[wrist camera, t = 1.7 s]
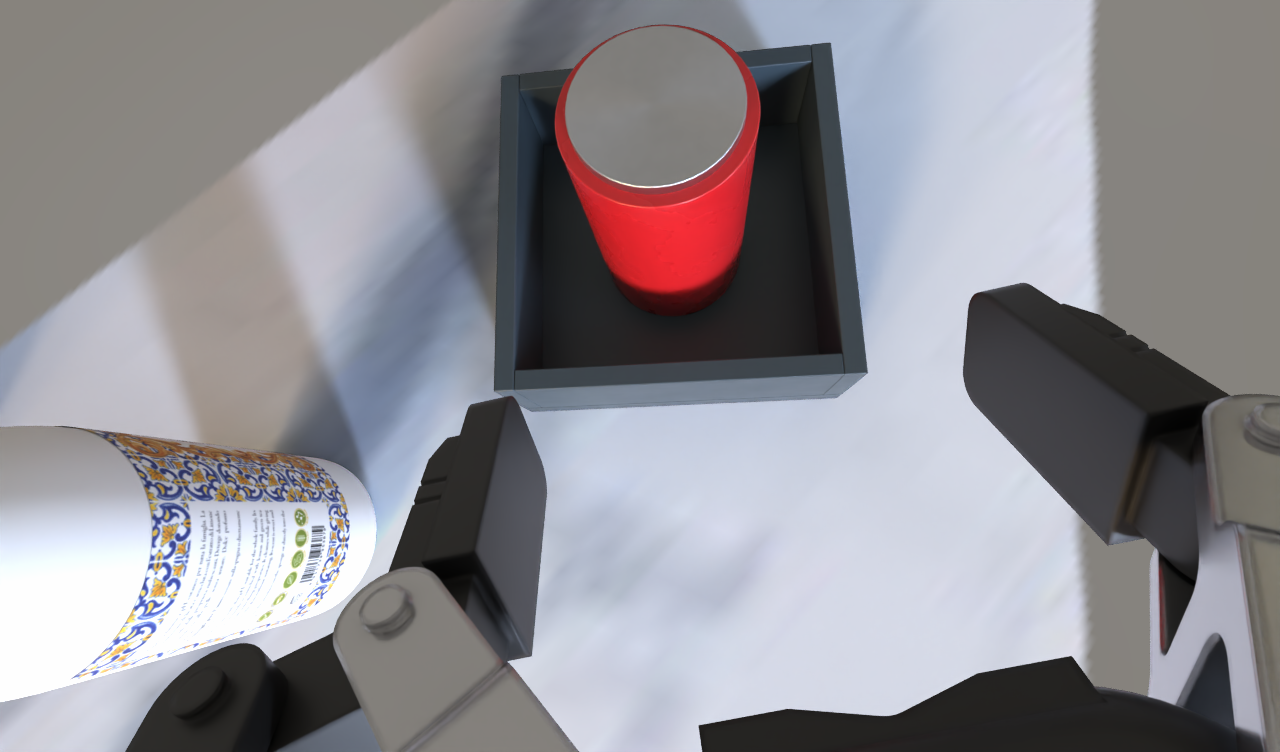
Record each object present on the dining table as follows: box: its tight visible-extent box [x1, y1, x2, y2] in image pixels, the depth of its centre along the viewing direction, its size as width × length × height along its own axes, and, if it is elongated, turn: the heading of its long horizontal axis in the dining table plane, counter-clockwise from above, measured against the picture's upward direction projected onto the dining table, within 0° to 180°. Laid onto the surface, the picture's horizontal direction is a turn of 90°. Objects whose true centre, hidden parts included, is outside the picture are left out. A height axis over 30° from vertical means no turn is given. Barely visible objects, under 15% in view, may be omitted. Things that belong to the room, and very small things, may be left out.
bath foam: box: [0, 426, 377, 702], centre depth 17 cm, size 7×7×20 cm
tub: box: [494, 43, 868, 412], centre depth 26 cm, size 14×14×5 cm
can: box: [555, 25, 760, 316], centre depth 22 cm, size 6×6×10 cm
